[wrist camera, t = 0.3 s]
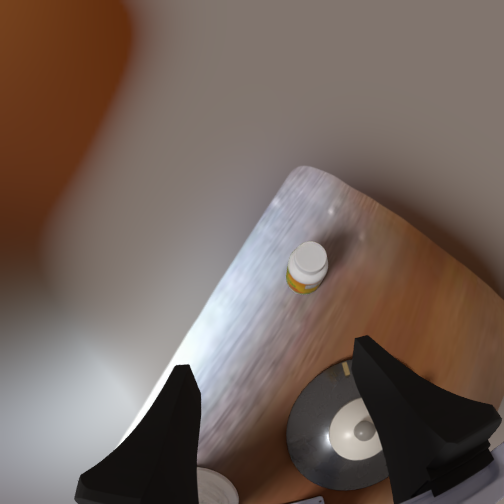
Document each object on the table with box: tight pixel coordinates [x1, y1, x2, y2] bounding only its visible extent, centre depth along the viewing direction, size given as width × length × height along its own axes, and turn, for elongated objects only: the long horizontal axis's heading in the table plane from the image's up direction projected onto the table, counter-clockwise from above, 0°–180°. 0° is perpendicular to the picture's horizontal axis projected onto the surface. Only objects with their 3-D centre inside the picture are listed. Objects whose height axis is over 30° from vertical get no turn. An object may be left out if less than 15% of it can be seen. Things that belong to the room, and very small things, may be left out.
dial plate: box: [286, 359, 389, 490], centre depth 35 cm, size 22×22×1 cm
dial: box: [328, 398, 382, 460], centre depth 32 cm, size 14×10×5 cm
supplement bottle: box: [286, 241, 328, 295], centre depth 40 cm, size 5×5×10 cm
